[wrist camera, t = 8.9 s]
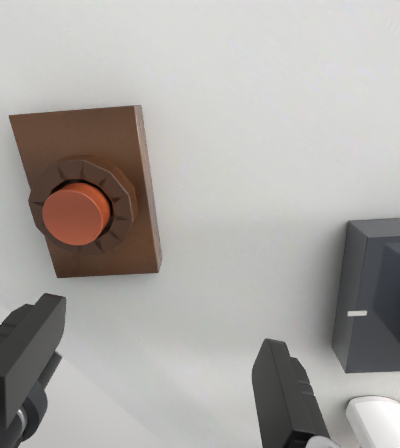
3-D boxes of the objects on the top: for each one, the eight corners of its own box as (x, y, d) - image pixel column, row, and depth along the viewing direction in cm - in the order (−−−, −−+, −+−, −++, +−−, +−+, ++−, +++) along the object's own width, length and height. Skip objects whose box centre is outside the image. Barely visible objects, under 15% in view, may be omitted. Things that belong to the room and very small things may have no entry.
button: (115, 232, 20) (107, 244, 18) (63, 235, 20) (50, 247, 18) (105, 180, 19) (95, 188, 17) (49, 184, 19) (34, 192, 17)
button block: (162, 258, 25) (154, 286, 21) (69, 264, 25) (45, 292, 21) (141, 105, 20) (127, 105, 16) (27, 113, 20) (-12, 116, 17)
